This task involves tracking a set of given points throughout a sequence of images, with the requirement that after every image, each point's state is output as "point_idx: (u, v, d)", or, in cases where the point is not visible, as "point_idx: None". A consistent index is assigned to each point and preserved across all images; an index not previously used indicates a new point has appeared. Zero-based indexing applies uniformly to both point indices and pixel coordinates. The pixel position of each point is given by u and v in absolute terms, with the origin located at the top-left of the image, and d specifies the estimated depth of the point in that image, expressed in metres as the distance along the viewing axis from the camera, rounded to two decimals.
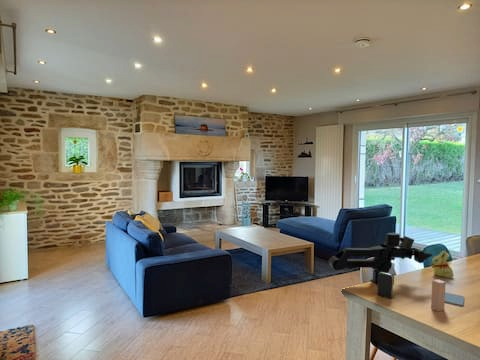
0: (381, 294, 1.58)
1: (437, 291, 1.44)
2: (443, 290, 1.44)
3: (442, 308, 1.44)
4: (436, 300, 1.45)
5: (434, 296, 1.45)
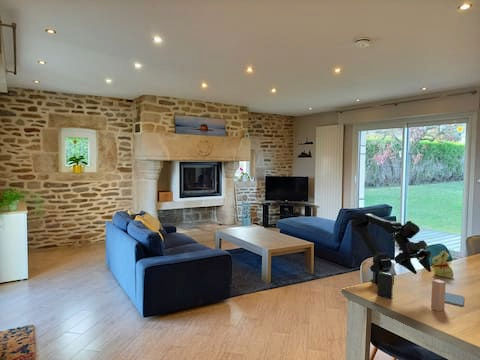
0: (381, 294, 1.58)
1: (437, 291, 1.44)
2: (443, 290, 1.44)
3: (442, 308, 1.44)
4: (436, 300, 1.45)
5: (434, 296, 1.45)
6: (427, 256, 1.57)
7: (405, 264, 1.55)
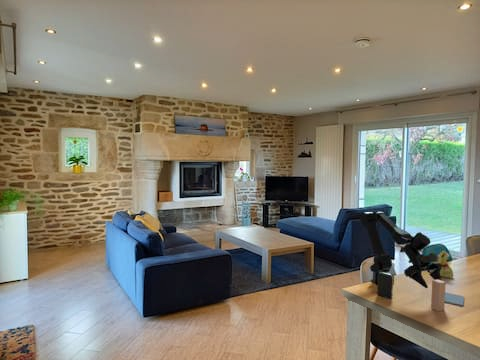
0: (381, 294, 1.58)
1: (437, 291, 1.44)
2: (443, 290, 1.44)
3: (442, 308, 1.44)
4: (436, 300, 1.45)
5: (434, 296, 1.45)
6: (438, 269, 1.52)
7: (415, 277, 1.49)
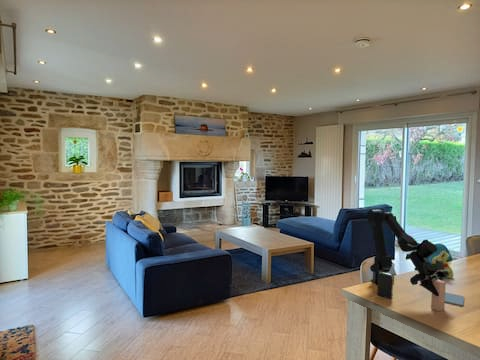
0: (381, 294, 1.58)
1: (437, 291, 1.44)
2: (443, 290, 1.44)
3: (442, 308, 1.44)
4: (436, 300, 1.45)
5: (434, 296, 1.45)
6: (441, 278, 1.48)
7: (426, 285, 1.47)
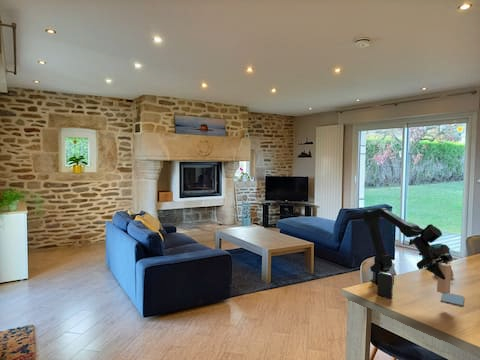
0: (381, 294, 1.58)
1: (443, 274, 1.45)
2: (449, 273, 1.45)
3: (448, 291, 1.46)
4: (442, 284, 1.46)
5: (440, 279, 1.46)
6: (445, 261, 1.49)
7: (432, 269, 1.48)
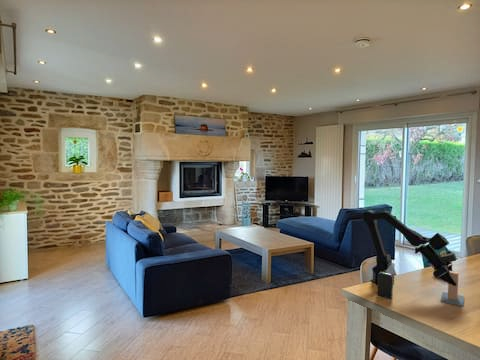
0: (381, 294, 1.58)
1: (455, 281, 1.54)
2: None
3: (457, 297, 1.56)
4: (453, 291, 1.55)
5: (451, 286, 1.55)
6: None
7: (444, 277, 1.54)
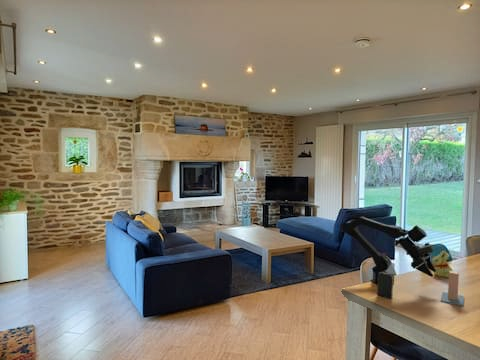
0: (381, 294, 1.58)
1: (455, 282, 1.54)
2: (458, 280, 1.56)
3: (457, 297, 1.56)
4: (453, 291, 1.55)
5: (452, 286, 1.55)
6: (430, 257, 1.67)
7: (421, 268, 1.59)
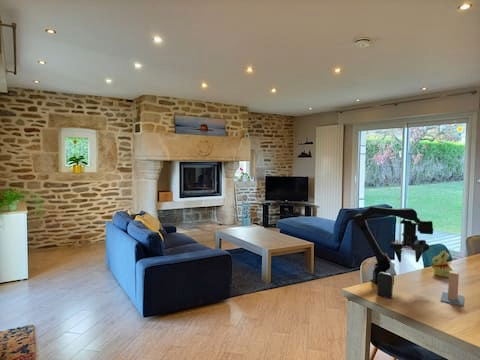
0: (381, 294, 1.58)
1: (455, 282, 1.54)
2: (458, 280, 1.56)
3: (457, 297, 1.56)
4: (453, 291, 1.55)
5: (452, 286, 1.55)
6: (422, 251, 1.69)
7: (396, 251, 1.72)
